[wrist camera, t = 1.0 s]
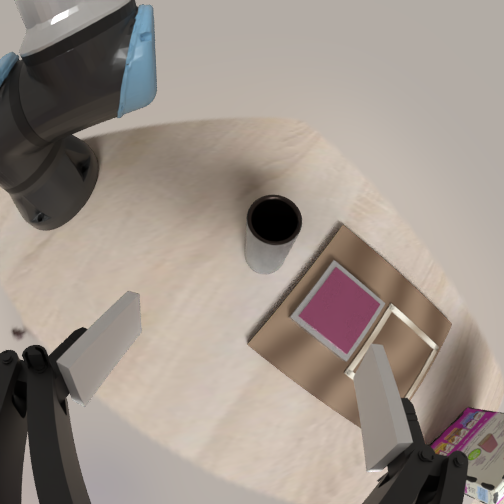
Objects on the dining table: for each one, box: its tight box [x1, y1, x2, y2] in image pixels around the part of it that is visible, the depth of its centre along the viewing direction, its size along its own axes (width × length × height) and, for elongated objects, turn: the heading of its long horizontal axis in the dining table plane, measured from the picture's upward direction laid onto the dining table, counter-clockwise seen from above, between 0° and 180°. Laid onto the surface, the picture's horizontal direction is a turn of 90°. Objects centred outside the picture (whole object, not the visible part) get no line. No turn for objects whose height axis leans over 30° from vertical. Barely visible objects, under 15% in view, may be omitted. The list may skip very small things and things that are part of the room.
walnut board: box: [247, 225, 452, 428], centre depth 29 cm, size 21×18×1 cm
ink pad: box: [289, 260, 385, 362], centre depth 29 cm, size 8×8×2 cm
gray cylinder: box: [245, 195, 302, 274], centre depth 27 cm, size 4×4×10 cm
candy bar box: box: [429, 407, 504, 504], centre depth 17 cm, size 11×5×16 cm, turn 117°
